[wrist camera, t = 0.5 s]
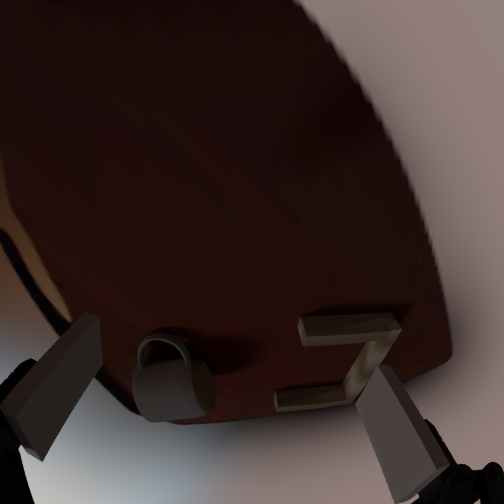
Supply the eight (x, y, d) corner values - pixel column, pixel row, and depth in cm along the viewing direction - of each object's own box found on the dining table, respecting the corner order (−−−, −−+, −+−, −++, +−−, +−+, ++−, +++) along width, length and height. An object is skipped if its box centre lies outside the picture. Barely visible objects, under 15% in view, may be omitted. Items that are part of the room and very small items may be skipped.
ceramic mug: (218, 376, 34) (219, 428, 27) (162, 383, 34) (156, 431, 27) (188, 322, 28) (182, 383, 22) (124, 333, 29) (108, 387, 22)
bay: (300, 315, 29) (306, 336, 26) (391, 312, 30) (401, 329, 28) (273, 395, 38) (276, 412, 35) (346, 388, 39) (351, 403, 37)
